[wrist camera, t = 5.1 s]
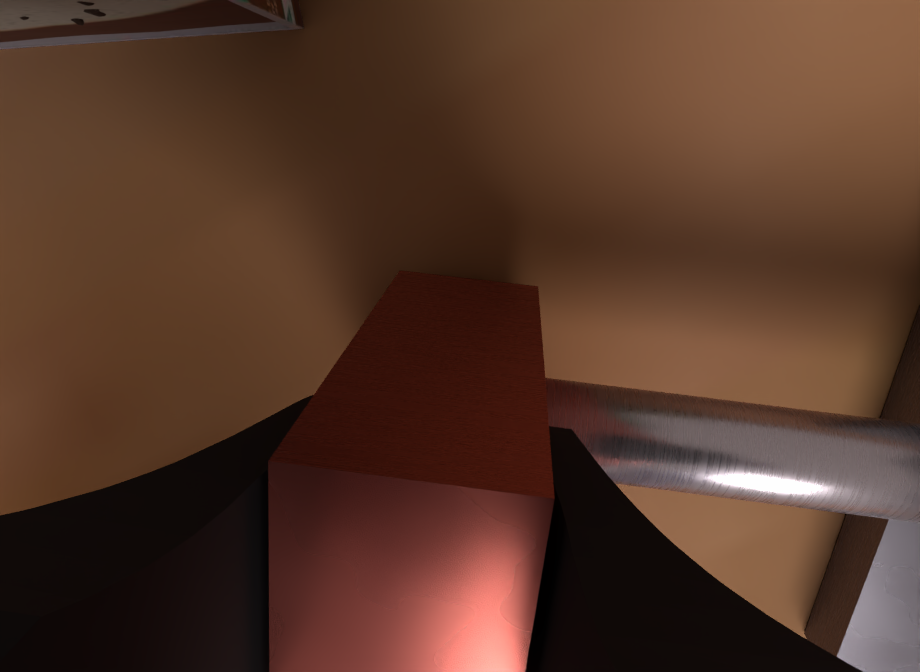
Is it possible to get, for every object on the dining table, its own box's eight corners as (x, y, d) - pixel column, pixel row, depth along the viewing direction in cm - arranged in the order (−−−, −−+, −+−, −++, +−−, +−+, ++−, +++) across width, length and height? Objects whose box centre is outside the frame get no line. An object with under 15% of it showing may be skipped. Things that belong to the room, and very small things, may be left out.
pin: (388, 433, 16) (270, 737, 8) (399, 270, 14) (267, 461, 7) (974, 508, 15) (1413, 913, 8) (1045, 345, 14) (1663, 644, 6)
